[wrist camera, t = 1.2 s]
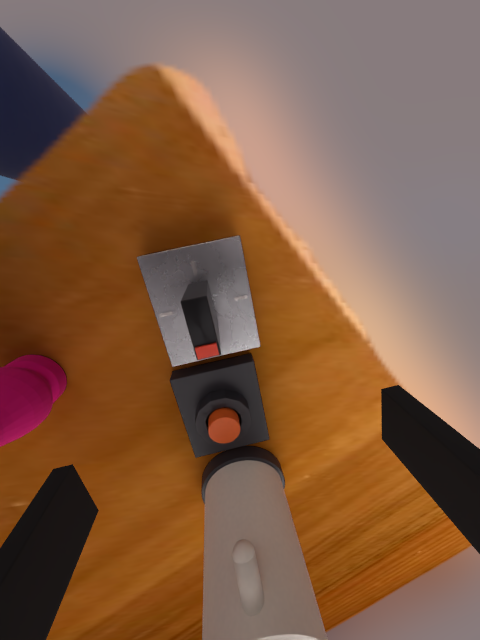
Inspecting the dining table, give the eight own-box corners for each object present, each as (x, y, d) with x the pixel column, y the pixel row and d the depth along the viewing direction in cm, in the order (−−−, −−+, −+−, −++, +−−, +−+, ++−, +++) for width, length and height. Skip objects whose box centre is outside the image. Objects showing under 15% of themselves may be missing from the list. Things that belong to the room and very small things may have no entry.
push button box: (172, 370, 31) (167, 389, 27) (251, 352, 32) (256, 368, 28) (196, 444, 35) (194, 470, 31) (266, 427, 35) (272, 450, 32)
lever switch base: (144, 254, 27) (135, 257, 24) (236, 235, 27) (240, 235, 24) (175, 354, 30) (171, 367, 28) (256, 336, 31) (260, 347, 28)
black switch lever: (187, 284, 25) (179, 302, 18) (207, 279, 25) (206, 296, 18) (200, 330, 27) (196, 362, 20) (218, 326, 27) (221, 356, 20)
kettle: (187, 439, 35) (162, 658, 17) (271, 419, 35) (335, 609, 17) (214, 520, 40) (218, 749, 22) (287, 501, 41) (348, 710, 23)
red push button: (205, 411, 29) (204, 421, 28) (235, 404, 29) (237, 414, 28) (212, 435, 30) (212, 446, 29) (241, 428, 31) (243, 439, 29)
